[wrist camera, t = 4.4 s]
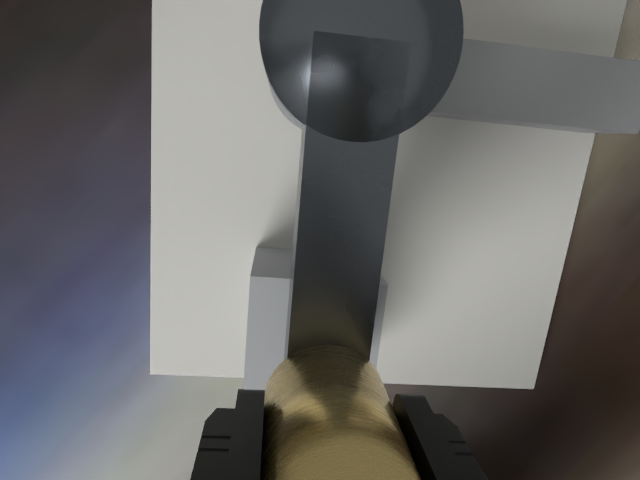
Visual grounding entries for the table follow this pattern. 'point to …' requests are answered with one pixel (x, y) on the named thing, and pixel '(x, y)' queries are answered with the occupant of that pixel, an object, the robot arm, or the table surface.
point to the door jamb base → (406, 198)
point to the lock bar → (345, 219)
